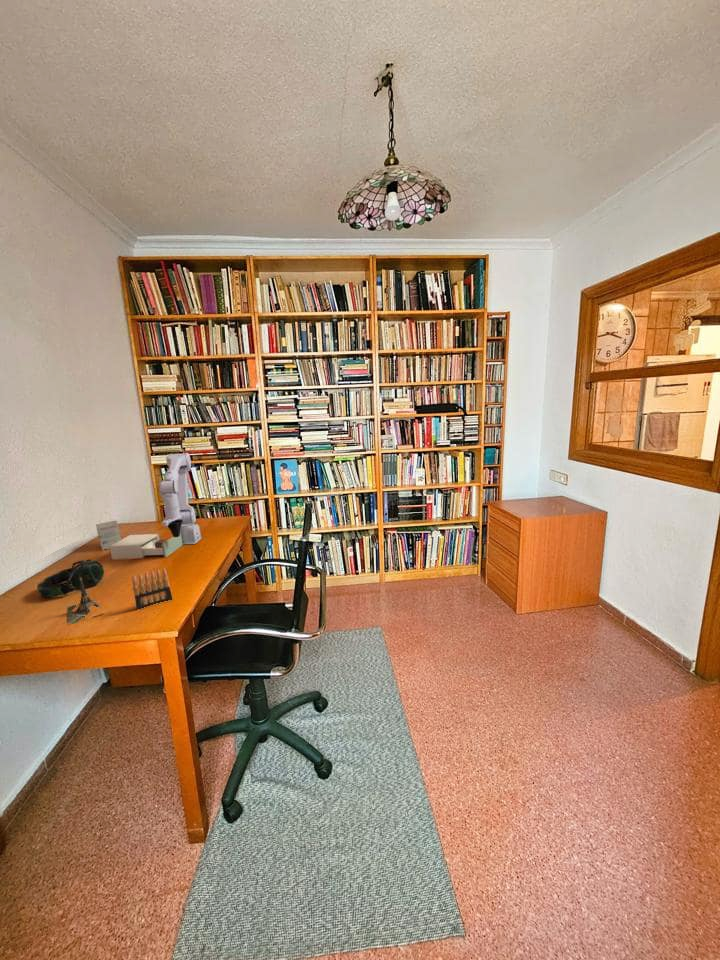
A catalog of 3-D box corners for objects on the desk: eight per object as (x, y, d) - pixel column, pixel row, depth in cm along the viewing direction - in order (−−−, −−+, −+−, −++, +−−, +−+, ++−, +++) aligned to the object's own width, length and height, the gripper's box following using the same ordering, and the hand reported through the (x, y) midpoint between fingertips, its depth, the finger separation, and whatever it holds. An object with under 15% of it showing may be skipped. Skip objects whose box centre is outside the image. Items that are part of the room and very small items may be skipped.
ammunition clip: (172, 597, 128) (166, 565, 126) (172, 600, 126) (167, 567, 124) (136, 607, 123) (130, 574, 120) (136, 610, 121) (130, 576, 119)
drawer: (182, 545, 177) (180, 533, 176) (166, 557, 164) (163, 544, 162) (154, 546, 178) (152, 534, 177) (136, 558, 165) (133, 545, 163)
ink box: (120, 541, 189) (116, 519, 186) (122, 545, 182) (118, 523, 180) (100, 546, 183) (95, 523, 181) (102, 550, 177) (97, 527, 174)
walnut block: (169, 547, 173) (167, 539, 172) (164, 550, 169) (163, 542, 168) (161, 547, 173) (159, 539, 172) (156, 551, 169) (154, 542, 168)
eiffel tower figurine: (67, 608, 126) (58, 572, 123) (103, 597, 132) (95, 563, 129) (66, 627, 114) (56, 588, 111) (105, 615, 120) (97, 577, 117)
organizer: (160, 546, 178) (158, 533, 177) (142, 558, 164) (139, 545, 163) (132, 547, 179) (130, 534, 178) (112, 559, 165) (109, 546, 164)
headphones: (99, 559, 152) (39, 582, 140) (92, 544, 142) (26, 568, 130) (111, 586, 147) (49, 613, 136) (105, 573, 137) (37, 601, 126)
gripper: (172, 503, 170) (177, 531, 172) (153, 512, 155) (158, 542, 158) (187, 502, 169) (191, 530, 172) (169, 511, 155) (174, 542, 158)
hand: (176, 536), depth 165 cm, fingers closed
